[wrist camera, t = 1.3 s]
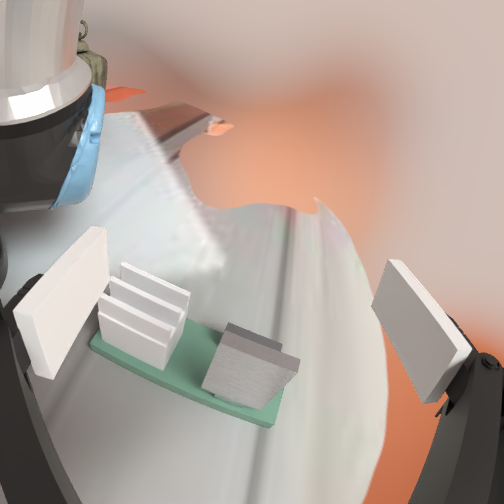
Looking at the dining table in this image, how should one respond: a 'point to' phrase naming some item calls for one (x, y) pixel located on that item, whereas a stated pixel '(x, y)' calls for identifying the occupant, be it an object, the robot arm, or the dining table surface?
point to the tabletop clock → (92, 60)
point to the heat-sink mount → (167, 340)
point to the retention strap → (248, 372)
